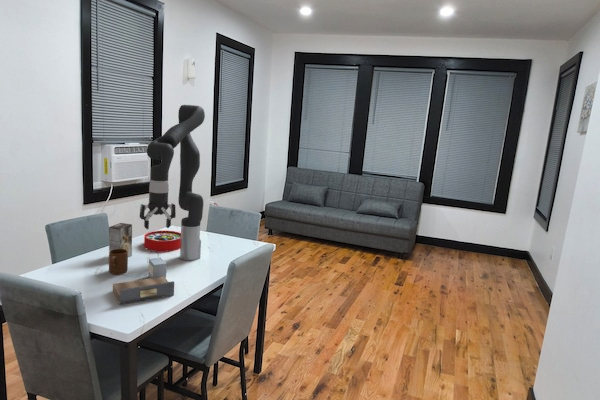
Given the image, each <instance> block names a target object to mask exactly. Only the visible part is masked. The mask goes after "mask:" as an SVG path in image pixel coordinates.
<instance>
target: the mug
mask: <svg viewBox="0 0 600 400" xmlns="http://www.w3.org/2000/svg"><path fill="white" fill-rule="evenodd" d="M128 259H129V257H128V251H127V250H125V249H114V250H111V251H110V252H109V251H108V271H109V274H111V275H123V274H125V273H127V272H128V267H129V266H128V264H129V263H128V262H129V260H128Z"/></svg>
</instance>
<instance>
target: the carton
mask: <svg viewBox="0 0 600 400" xmlns="http://www.w3.org/2000/svg"><path fill="white" fill-rule="evenodd" d="M163 276H164V277H165V278H167V262H166V261H164V259H163V258H162V257H153V258H152V257H151V258H149V259H148V278H149V279H150V278H157V277H163Z"/></svg>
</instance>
